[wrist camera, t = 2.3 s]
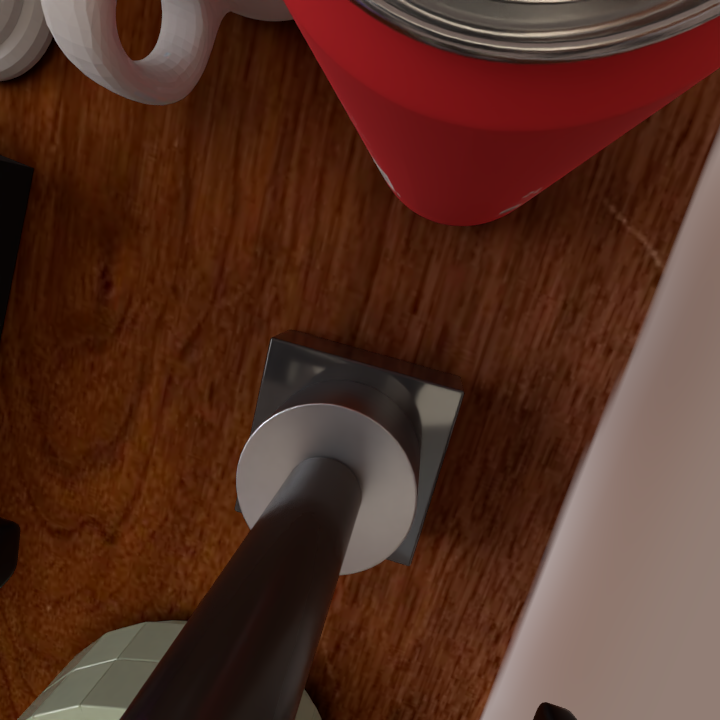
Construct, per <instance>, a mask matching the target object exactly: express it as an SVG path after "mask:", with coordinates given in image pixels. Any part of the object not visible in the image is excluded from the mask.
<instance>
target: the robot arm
mask: <svg viewBox="0 0 720 720" xmlns="http://www.w3.org/2000/svg"><path fill="white" fill-rule="evenodd" d="M19 540H20V527H19V525H18V524H17V523H16V522H13V521H10V520H7V519H4V518H1V517H0V588H1V587H2V586H3V585H4V584H5V583H6V582H7V581H8V580H9V578H10V577H11V576H12V574H13V572H14V570H15V568H16V565H17V560H18V550H19ZM533 720H577V719H576V718H575V716H574V715H573V714H572V713H571V712H570V711H569V710H567V709H565V708H562V707H559V706H556V705H553V704H550V703H547V702H545V703H542V704H540V706H539V707H538V709H537V711H536V714H535V716H534V719H533Z"/></svg>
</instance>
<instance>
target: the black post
mask: <svg viewBox="0 0 720 720" xmlns="http://www.w3.org/2000/svg"><path fill="white" fill-rule="evenodd" d="M419 470H420V449H419V444H418V439H417V437H416V434H415V431H414V429H413V427H412V425H411V423H410V421H409V419H408V418H407V416H406V415H405V413H404V412H403V411H402V410H401V409H400V408H399V406H398V405H397V404H396V403H394V402H393V401H392V400H391V399H390V398H389V397H387V396H386V395H384V394H383V393H381V392H380V391H378V390H376V389H374V388H372V387H370V386H367V385H364V384H361V383H357V382H352V381H344V380H332V381H324V382H319V383H316V384H313V385H310V386H308V387H306V388H304V389H301V390H300V391H298V392H297V393H295V394H294V395H292V396H291V397H290V398H289V399H288V400H287V401H286V402H285V403H283V404H282V405H281V406H280V407H279V408H278V409H277V410H276V411H275V412H274V413H273V414H271V415H270V416H269V417H268V418H267V419H266V420H265V421H264V422H263V423H262V424H261V425H259V426H258V427H257V429H256V430H255V431H254V432H253V433H252V434H251V436H250V437H249V439H248V441H247V442H246V444H245V446H244V448H243V450H242V453H241V455H240V459H239V462H238V466H237V474H236V489H237V497H238V501H239V505H240V509H241V511H242V514H243V516H244V519H245V521H246V522H247V524H248V526H249V528H250V529H251V530H250V532H249V533H248V535H247V536H246V538H245V539H244V541H243V542H242V543H241V545H240V546H239V548H238V549H237V551H236V552H235V553H234V555H233V556H232V558H231V559H230V561H229V562H228V564H227V565H226V566H225V568H224V569H223V571H222V572H221V574H220V575H219V577H218V578H217V579H216V581H215V582H214V584H213V585H212V587H211V588H210V590H209V591H208V592H207V594H206V595H205V597H204V598H203V600H202V601H201V602H200V604H199V605H198V607H197V608H196V610H195V611H194V613H193V614H192V615H191V617H190V618H189V620H188V621H187V623H186V624H185V626H184V627H183V628H182V630H181V631H180V633H179V634H178V636H177V637H176V639H175V640H174V641H173V643H172V644H171V646H170V647H169V649H168V650H167V651H166V653H165V654H164V656H163V657H162V659H161V660H160V662H159V663H158V664H157V666H156V667H155V669H154V670H153V672H152V673H151V675H150V676H149V677H148V679H147V680H146V682H145V683H144V685H143V686H142V688H141V689H140V690H139V692H138V693H137V695H136V696H135V698H134V699H133V700H132V702H131V703H130V705H129V706H128V708H127V709H126V711H125V712H124V713H123V715H122V716H121V718H120V719H119V720H295V718H296V714H297V711H298V708H299V705H300V701H301V698H302V695H303V691H304V688H305V685H306V682H307V678H308V675H309V672H310V669H311V665H312V662H313V659H314V656H315V652H316V649H317V646H318V643H319V639H320V636H321V633H322V630H323V626H324V623H325V620H326V617H327V613H328V610H329V607H330V604H331V600H332V597H333V594H334V591H335V587H336V584H337V581H338V577H339V575H347V574H353V573H357V572H361V571H364V570H366V569H369V568H371V567H373V566H375V565H377V564H379V563H381V562H382V561H384V560H385V559H386V558H388V557H389V556H390V555H391V554H392V553H393V552H394V551H395V550H397V549H398V547H399V546H400V545H401V544H402V542H403V541H404V540H405V538H406V536H407V534H408V533H409V531H410V529H411V526H412V524H413V521H414V518H415V513H416V509H417V498H418V484H419Z"/></svg>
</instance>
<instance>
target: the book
mask: <svg viewBox="0 0 720 720" xmlns="http://www.w3.org/2000/svg"><path fill="white" fill-rule="evenodd" d="M33 169H34V168H32V167H29V166H27V165H24V164H22V163H19V162H17V161H14V160H12V159H9V158H7V157H4V156H2V155H0V338H1V333H2V328H3V323H4V317H5V312H6V307H7V302H8V297H9V292H10V287H11V282H12V276H13V271H14V266H15V261H16V256H17V251H18V246H19V241H20V236H21V230H22V225H23V220H24V215H25V210H26V205H27V200H28V195H29V190H30V184H31V179H32V174H33Z"/></svg>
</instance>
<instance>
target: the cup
mask: <svg viewBox="0 0 720 720" xmlns="http://www.w3.org/2000/svg"><path fill="white" fill-rule="evenodd" d="M116 3H117V0H41V5H42V9H43V13H44V16H45V20H46V23H47V26H48V27H49V29H50V31H51V33H52V35H53V37H54V39H55V41H56V43H57V44H58V46H59V47H60V49H61V50H62V51H63V53H64V54H65V55H66V57H67V58H68V59H69V60H70V61H71V62H72V63H73V64H74V65H75V66H76V67H77V68H78V69H80V70H81V71H82V72H83V73H84V74H85V75H86V76H88V77H89V78H90V79H92V80H93V81H95V82H96V83H98V84H100V85H101V86H103V87H105V88H107V89H109V90H110V91H112V92H114V93H116V94H118V95H121V96H123V97H125V98H128V99H131V100H133V101H137V102H141V103H144V104H151V105H166V104H171V103H174V102H177V101H179V100H181V99H183V98H185V97H186V96H187V95H188V94H189V93H190V92H191V91H192V89H193V88H194V87H195V85H196V84H197V82H198V81H199V79H200V77H201V75H202V74H203V72H204V69H205V67H206V65H207V62H208V59H209V56H210V53H211V50H212V47H213V44H214V41H215V38H216V35H217V31H218V28H219V26H220V23H221V21H222V19H223V17H224V16H225V15H226V13H228V12H230V11H232V12H234V13H236V14H239V15H242V16H245V17H248V18H252V19H257V20H263V21H286V20H292V19H293V17H292V15H291V14H290V12H289V10H288V8H287V7H286V5H285V3H284V1H283V0H161V4H162V25H161V31H160V35H159V38H158V42H157V44H156V46H155V48H154V49H153V51H152V52H151V53H150V54H149V55H148V56H147V57H146V58H144V59H142V60H139V61H132V60H131V59H130V58H129V57H128V56H127V54H126V53H125V51H124V49H123V47H122V45H121V42H120V39H119V36H118V32H117V26H116Z"/></svg>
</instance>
